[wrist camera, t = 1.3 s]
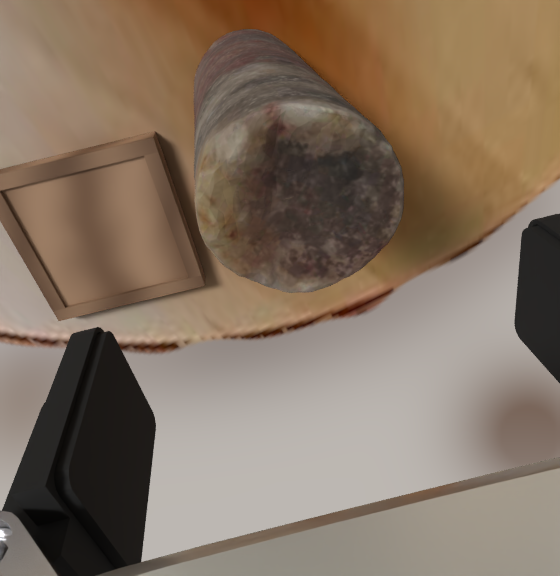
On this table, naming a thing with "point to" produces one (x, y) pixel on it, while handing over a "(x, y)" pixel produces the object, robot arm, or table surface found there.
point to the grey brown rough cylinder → (287, 168)
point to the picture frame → (100, 226)
